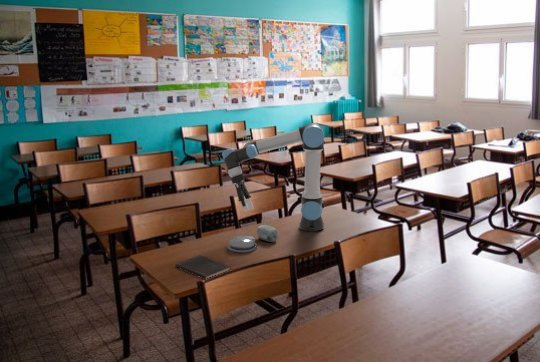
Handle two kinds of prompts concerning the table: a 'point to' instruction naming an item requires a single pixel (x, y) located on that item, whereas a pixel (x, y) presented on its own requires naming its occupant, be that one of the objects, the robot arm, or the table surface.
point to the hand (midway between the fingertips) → (249, 210)
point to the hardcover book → (202, 266)
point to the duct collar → (242, 244)
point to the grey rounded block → (267, 233)
